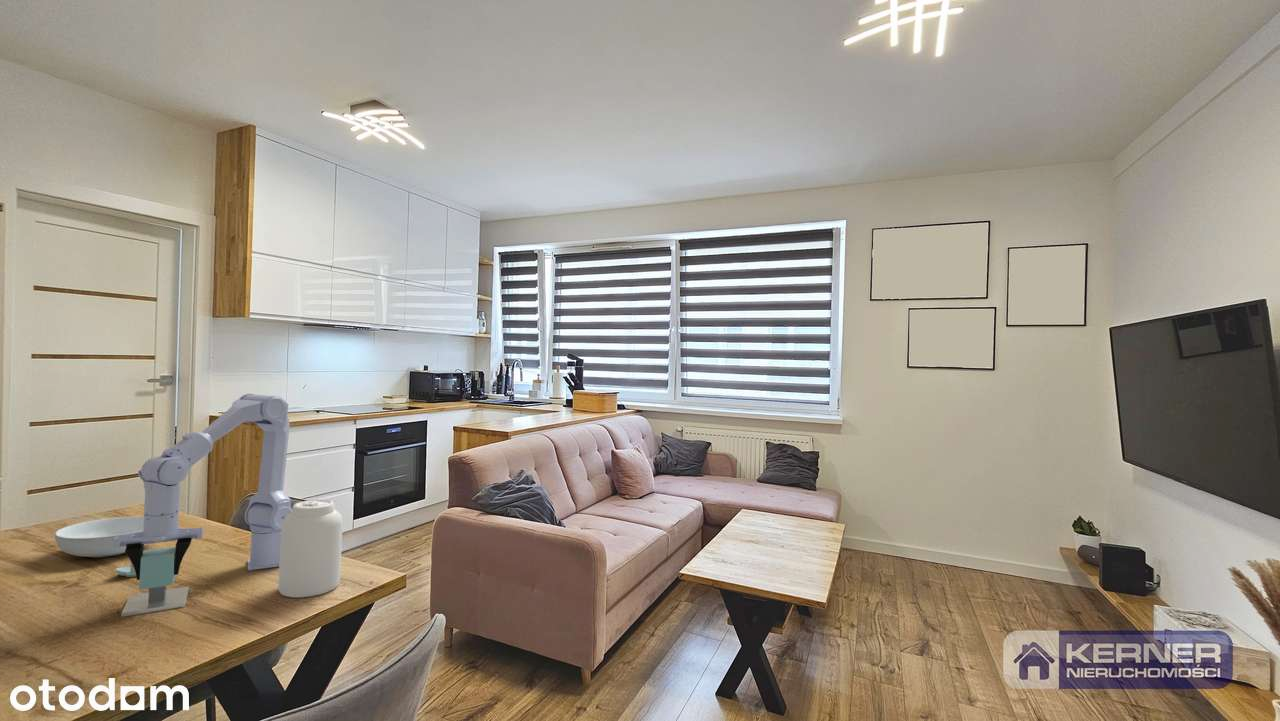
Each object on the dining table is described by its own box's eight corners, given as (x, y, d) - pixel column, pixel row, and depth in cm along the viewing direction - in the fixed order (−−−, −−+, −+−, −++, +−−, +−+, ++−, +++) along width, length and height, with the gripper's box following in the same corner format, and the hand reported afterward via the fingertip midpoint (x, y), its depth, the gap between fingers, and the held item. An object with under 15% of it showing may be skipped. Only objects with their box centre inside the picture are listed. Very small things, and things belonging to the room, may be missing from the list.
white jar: (264, 592, 129) (269, 505, 129) (313, 574, 140) (317, 494, 140) (305, 603, 124) (309, 512, 124) (352, 583, 136) (355, 500, 136)
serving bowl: (174, 550, 153) (175, 524, 153) (67, 572, 135) (68, 543, 135) (145, 534, 164) (147, 511, 164) (43, 553, 146) (44, 527, 146)
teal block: (175, 576, 125) (177, 546, 125) (172, 584, 121) (174, 554, 121) (143, 581, 122) (144, 550, 122) (139, 589, 118) (140, 557, 118)
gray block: (188, 590, 128) (190, 559, 128) (184, 606, 120) (186, 573, 120) (130, 598, 123) (131, 566, 123) (121, 616, 114) (123, 582, 114)
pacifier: (116, 574, 136) (115, 581, 131) (117, 548, 136) (116, 554, 132) (156, 568, 141) (156, 574, 136) (157, 542, 141) (157, 548, 136)
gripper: (112, 521, 114) (108, 588, 114) (202, 513, 122) (199, 576, 122) (118, 512, 120) (115, 577, 120) (204, 505, 128) (201, 565, 128)
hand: (158, 575), depth 121 cm, fingers closed on teal block, 5 cm apart
